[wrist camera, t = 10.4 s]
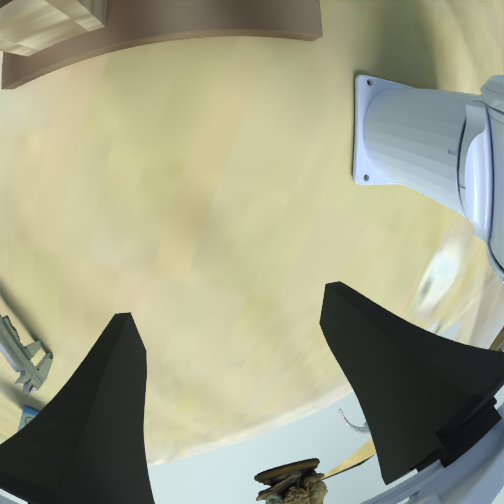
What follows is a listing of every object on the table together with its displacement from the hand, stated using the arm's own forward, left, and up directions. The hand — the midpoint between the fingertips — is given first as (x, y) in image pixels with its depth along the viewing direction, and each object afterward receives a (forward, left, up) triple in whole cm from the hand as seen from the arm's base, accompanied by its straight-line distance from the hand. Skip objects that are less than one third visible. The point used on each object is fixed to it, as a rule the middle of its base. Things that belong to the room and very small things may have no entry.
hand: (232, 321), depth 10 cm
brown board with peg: (+3, -18, -9) cm, 21 cm away
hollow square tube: (+8, -16, -8) cm, 20 cm away
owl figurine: (-9, +66, -10) cm, 67 cm away
